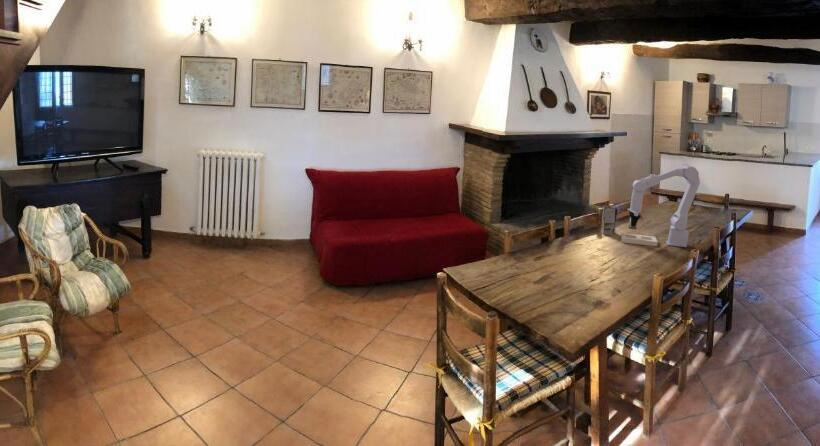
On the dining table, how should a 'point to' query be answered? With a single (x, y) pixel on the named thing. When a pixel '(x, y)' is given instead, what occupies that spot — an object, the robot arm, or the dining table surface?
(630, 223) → the sleeve
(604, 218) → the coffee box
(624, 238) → the socket block
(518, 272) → the dining table surface
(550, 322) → the dining table surface
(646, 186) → the robot arm
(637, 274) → the dining table surface
